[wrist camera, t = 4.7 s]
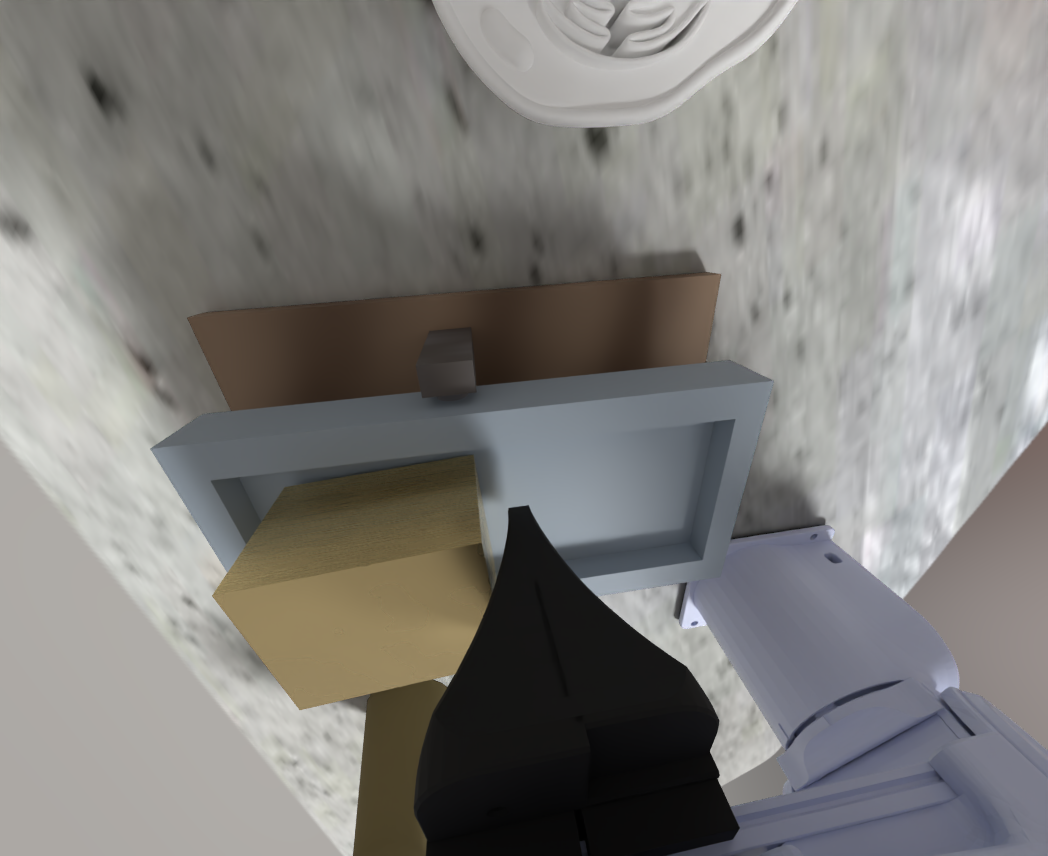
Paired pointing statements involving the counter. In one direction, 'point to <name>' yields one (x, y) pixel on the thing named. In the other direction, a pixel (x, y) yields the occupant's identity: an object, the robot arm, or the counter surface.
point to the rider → (365, 580)
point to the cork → (393, 770)
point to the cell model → (604, 52)
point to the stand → (456, 339)
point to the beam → (513, 462)
